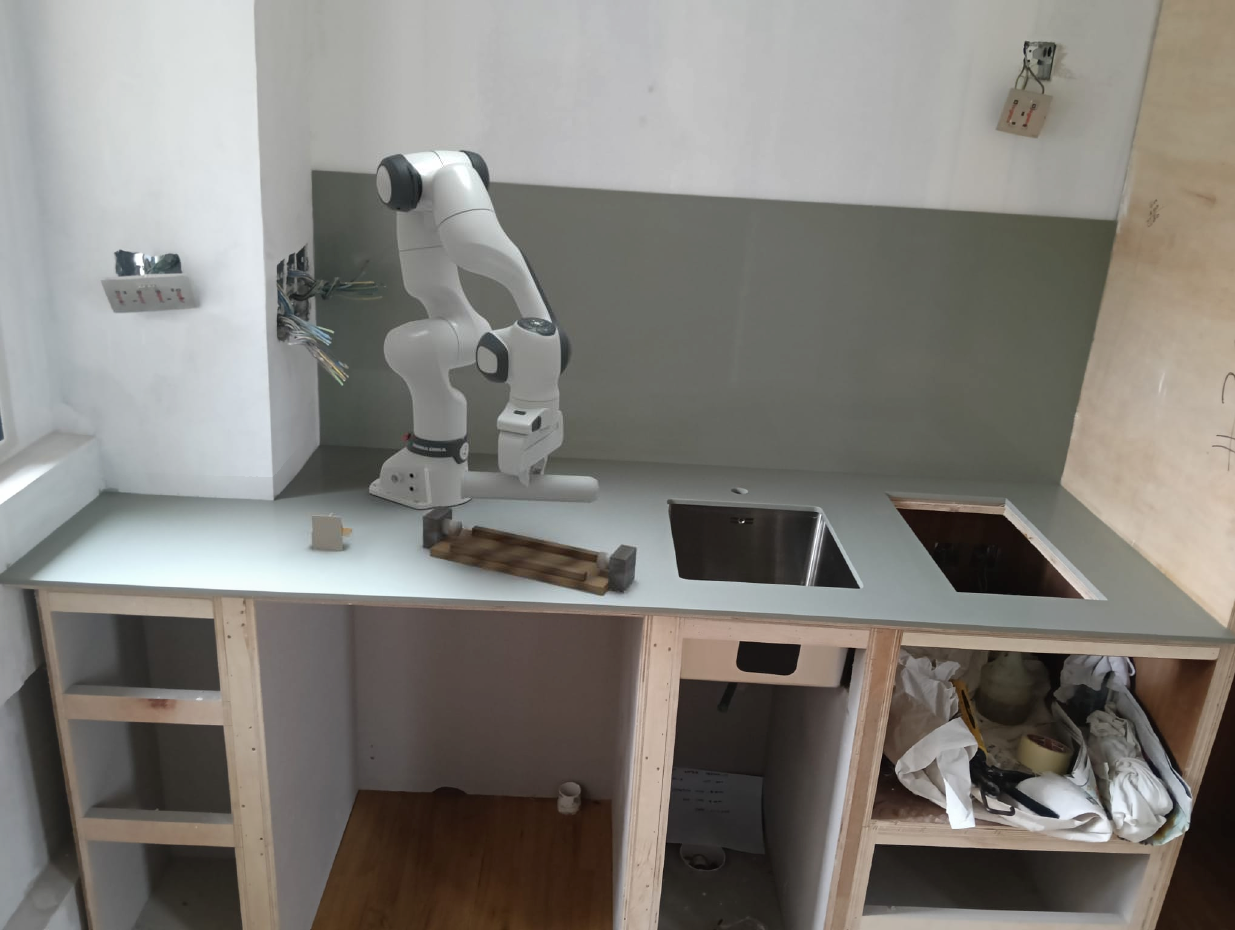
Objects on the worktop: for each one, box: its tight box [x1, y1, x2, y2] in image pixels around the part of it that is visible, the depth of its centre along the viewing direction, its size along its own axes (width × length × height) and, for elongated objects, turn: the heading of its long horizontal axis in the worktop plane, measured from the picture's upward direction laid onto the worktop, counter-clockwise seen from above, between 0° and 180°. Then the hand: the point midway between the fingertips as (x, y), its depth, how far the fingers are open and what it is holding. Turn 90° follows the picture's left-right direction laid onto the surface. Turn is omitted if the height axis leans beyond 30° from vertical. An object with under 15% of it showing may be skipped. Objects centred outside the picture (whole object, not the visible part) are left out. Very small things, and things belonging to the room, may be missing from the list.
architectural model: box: [311, 512, 354, 552], centre depth 187 cm, size 3×7×7 cm, turn 90°
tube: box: [461, 470, 600, 504], centre depth 181 cm, size 5×5×25 cm
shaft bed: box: [422, 506, 638, 596], centre depth 186 cm, size 41×11×6 cm, turn 70°
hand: (531, 482), depth 182 cm, fingers closed on tube, 4 cm apart
